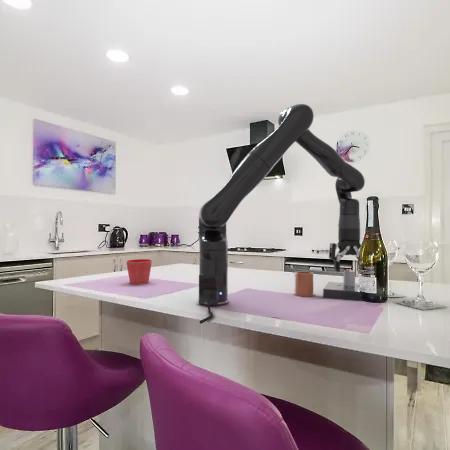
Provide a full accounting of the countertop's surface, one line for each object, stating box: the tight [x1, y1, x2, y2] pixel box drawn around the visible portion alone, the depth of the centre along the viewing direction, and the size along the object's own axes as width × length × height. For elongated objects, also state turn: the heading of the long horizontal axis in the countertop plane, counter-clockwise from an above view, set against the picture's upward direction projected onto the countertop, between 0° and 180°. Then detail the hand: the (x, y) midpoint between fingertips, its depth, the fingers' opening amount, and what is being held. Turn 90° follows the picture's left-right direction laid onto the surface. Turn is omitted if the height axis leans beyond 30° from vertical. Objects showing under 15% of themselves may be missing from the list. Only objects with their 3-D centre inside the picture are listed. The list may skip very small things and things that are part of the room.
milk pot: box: [294, 270, 314, 298], centre depth 120 cm, size 6×6×8 cm
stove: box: [322, 281, 362, 302], centre depth 120 cm, size 16×12×3 cm
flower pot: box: [126, 258, 153, 285], centre depth 144 cm, size 11×11×10 cm
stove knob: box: [342, 269, 356, 287], centre depth 121 cm, size 4×4×6 cm
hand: (348, 271), depth 122 cm, fingers open, 8 cm apart
